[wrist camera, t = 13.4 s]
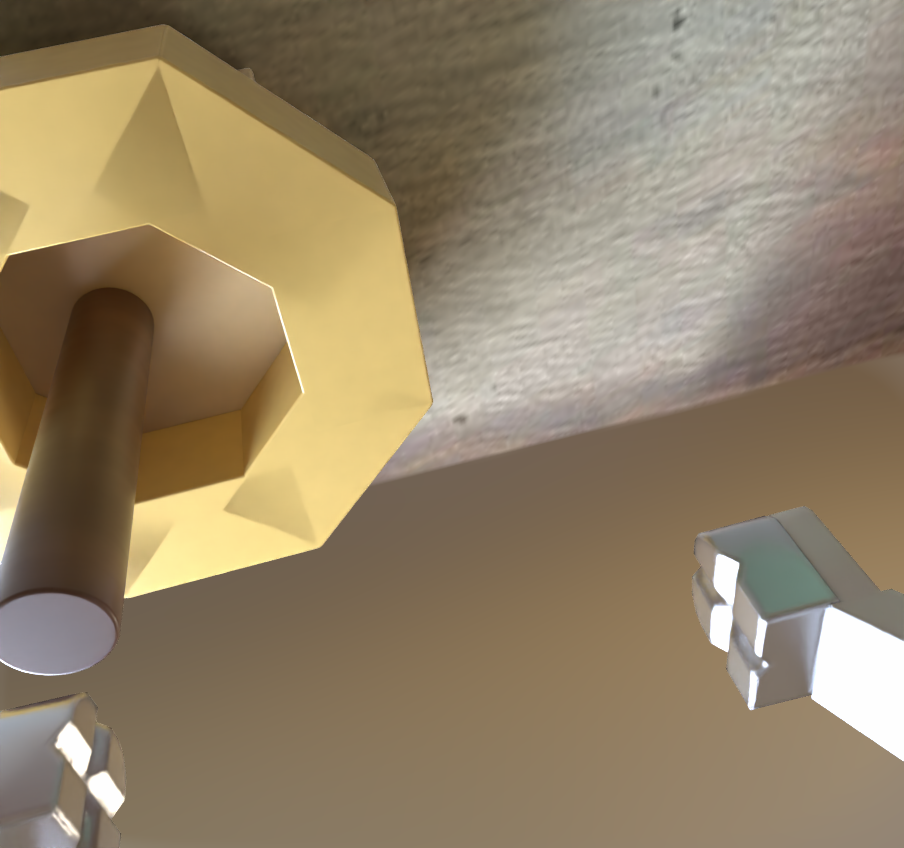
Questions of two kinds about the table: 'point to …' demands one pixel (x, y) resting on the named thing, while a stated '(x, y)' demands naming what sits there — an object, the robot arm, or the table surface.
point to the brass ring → (239, 246)
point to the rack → (110, 415)
